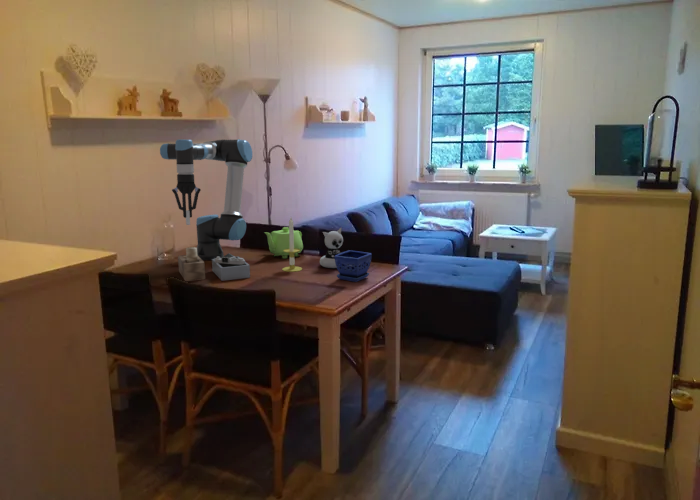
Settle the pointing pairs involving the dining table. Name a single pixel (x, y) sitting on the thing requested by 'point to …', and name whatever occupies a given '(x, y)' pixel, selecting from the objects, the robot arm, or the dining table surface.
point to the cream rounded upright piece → (191, 254)
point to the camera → (230, 261)
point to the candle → (291, 250)
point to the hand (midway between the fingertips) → (188, 224)
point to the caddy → (231, 271)
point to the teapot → (283, 242)
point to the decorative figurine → (331, 248)
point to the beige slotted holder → (191, 269)
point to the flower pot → (353, 265)
